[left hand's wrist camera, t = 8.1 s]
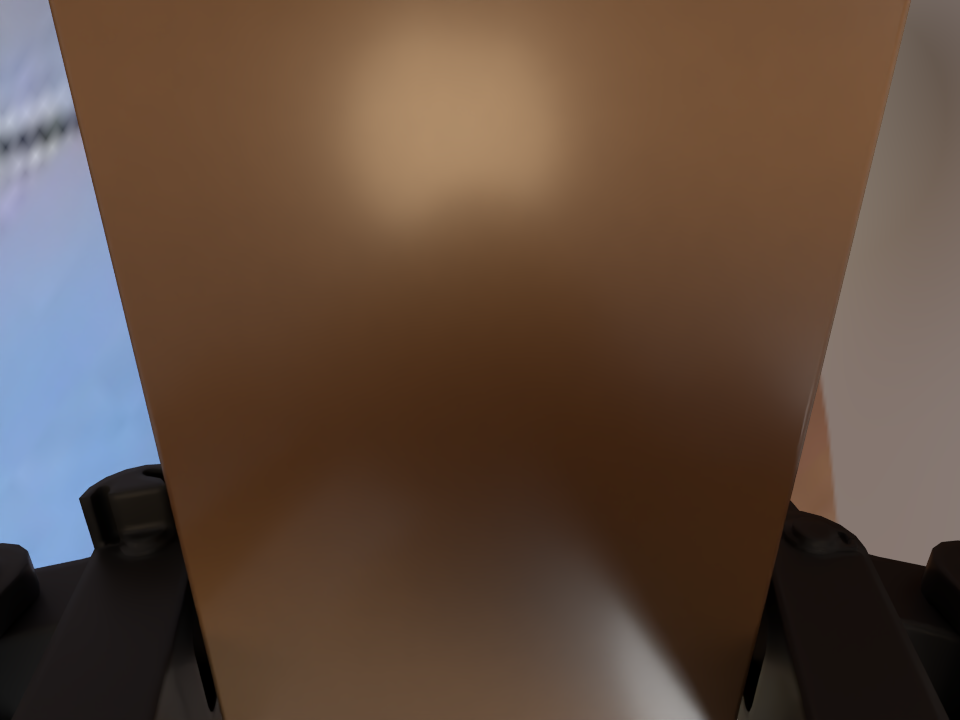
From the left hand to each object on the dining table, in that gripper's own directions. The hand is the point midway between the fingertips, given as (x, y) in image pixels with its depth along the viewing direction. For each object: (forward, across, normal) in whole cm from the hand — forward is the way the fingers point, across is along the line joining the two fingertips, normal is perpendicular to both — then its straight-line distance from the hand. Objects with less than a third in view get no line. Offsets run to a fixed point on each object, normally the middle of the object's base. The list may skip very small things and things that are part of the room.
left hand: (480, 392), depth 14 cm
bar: (0, 0, -7) cm, 7 cm away
